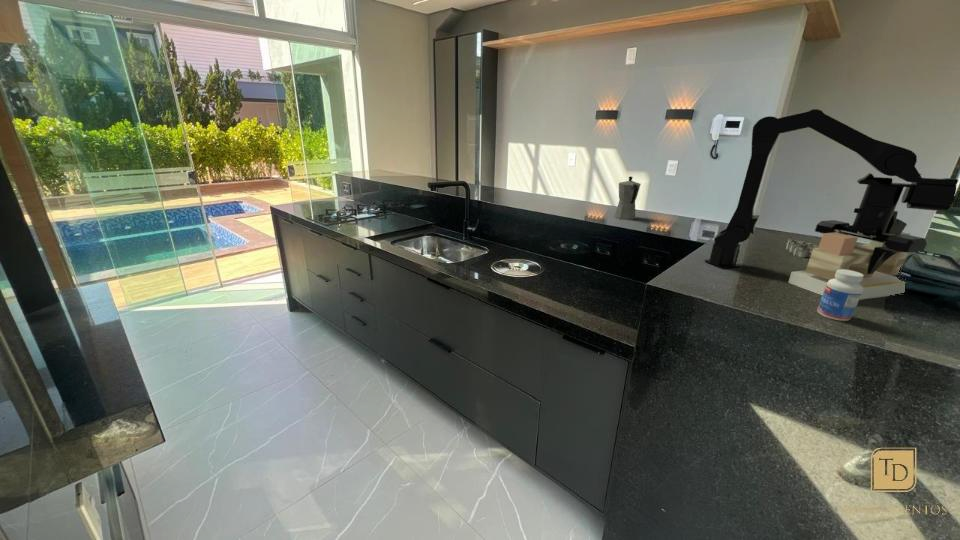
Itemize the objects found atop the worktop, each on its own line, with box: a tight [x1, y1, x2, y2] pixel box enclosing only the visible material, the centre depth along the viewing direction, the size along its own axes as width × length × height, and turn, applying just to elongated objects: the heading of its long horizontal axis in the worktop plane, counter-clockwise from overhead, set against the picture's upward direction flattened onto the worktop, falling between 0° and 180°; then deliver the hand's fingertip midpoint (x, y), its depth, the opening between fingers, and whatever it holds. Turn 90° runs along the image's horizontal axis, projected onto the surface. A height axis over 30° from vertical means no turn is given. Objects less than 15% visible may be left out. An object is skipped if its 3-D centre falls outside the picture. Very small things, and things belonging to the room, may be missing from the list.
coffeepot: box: [614, 176, 641, 221], centre depth 163 cm, size 15×9×18 cm, turn 178°
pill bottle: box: [816, 269, 864, 322], centre depth 77 cm, size 6×5×10 cm
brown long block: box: [805, 243, 909, 280], centre depth 91 cm, size 21×6×6 cm, turn 104°
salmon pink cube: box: [818, 233, 859, 255], centre depth 87 cm, size 4×4×4 cm
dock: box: [787, 269, 906, 301], centre depth 92 cm, size 22×12×3 cm, turn 104°
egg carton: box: [785, 237, 819, 258], centre depth 119 cm, size 11×8×4 cm
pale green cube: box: [868, 231, 911, 247], centre depth 91 cm, size 4×4×4 cm
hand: (853, 269), depth 91 cm, fingers closed on brown long block, 6 cm apart
